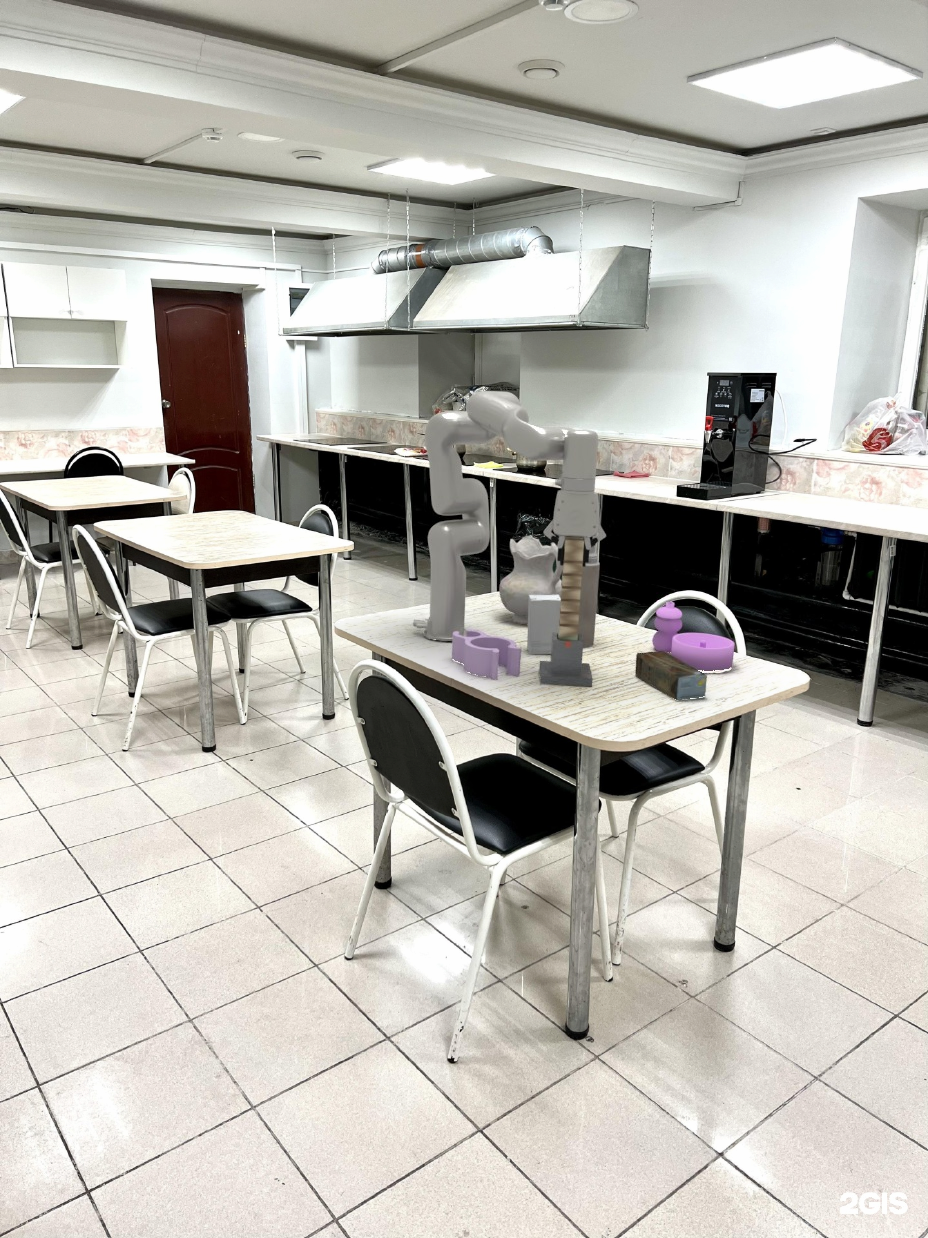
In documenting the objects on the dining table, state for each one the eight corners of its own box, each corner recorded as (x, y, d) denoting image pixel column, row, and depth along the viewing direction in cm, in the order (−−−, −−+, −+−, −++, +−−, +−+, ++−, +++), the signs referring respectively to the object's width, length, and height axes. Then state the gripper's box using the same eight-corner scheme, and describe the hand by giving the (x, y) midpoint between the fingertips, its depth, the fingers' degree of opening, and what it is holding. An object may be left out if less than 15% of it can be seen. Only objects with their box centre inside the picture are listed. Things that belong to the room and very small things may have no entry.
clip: (439, 660, 228) (440, 633, 226) (480, 653, 235) (481, 627, 233) (486, 682, 212) (487, 653, 210) (528, 674, 219) (529, 647, 217)
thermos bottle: (563, 638, 251) (570, 537, 244) (593, 640, 250) (600, 539, 243) (564, 646, 243) (571, 542, 236) (594, 648, 243) (602, 544, 236)
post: (558, 641, 213) (565, 539, 207) (557, 636, 217) (564, 536, 211) (577, 642, 212) (584, 540, 207) (576, 637, 217) (583, 537, 211)
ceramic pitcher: (581, 626, 269) (590, 542, 264) (542, 633, 254) (551, 544, 249) (523, 613, 282) (531, 533, 278) (483, 618, 268) (490, 534, 263)
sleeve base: (540, 683, 212) (542, 642, 209) (539, 668, 223) (541, 629, 221) (591, 686, 211) (595, 645, 208) (588, 671, 222) (591, 631, 220)
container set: (744, 670, 229) (750, 619, 226) (698, 677, 222) (704, 624, 219) (678, 644, 250) (683, 597, 247) (634, 649, 243) (638, 601, 240)
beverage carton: (675, 702, 203) (678, 674, 202) (632, 676, 221) (635, 650, 219) (706, 699, 206) (709, 671, 204) (661, 674, 223) (663, 648, 222)
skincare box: (556, 649, 241) (560, 594, 237) (560, 655, 235) (563, 599, 231) (525, 648, 240) (528, 593, 237) (527, 654, 235) (530, 598, 231)
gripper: (540, 485, 203) (536, 566, 207) (617, 489, 202) (610, 570, 206) (540, 482, 210) (535, 560, 214) (614, 485, 209) (607, 563, 213)
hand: (572, 564), depth 210 cm, fingers closed on post, 4 cm apart
